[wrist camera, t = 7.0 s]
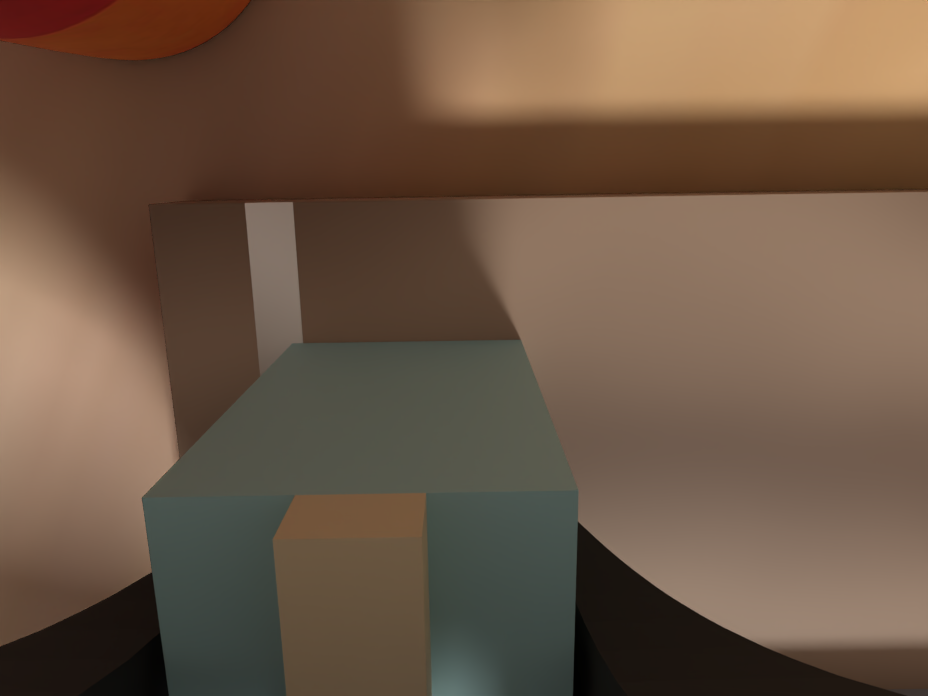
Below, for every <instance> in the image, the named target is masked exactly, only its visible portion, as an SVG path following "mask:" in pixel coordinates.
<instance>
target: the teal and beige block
mask: <svg viewBox="0 0 928 696" xmlns="http://www.w3.org/2000/svg"><path fill="white" fill-rule="evenodd" d="M578 494H579V490H578V488H577V485H576V482H575V480H574V477H573V474H572V472H571V469H570V467H569V464H568V461H567V459H566V456H565V454H564V451H563V448H562V446H561V443H560V440H559V438H558V435H557V433H556V430H555V427H554V425H553V422H552V419H551V417H550V414H549V412H548V409H547V406H546V404H545V401H544V399H543V396H542V393H541V391H540V388H539V385H538V383H537V380H536V378H535V375H534V372H533V370H532V367H531V365H530V362H529V359H528V357H527V354H526V351H525V349H524V346H523V344H522V341H521V340H472V341H408V342H345V343H292V344H291V345H290V346H289V347H288V348H287V349H286V350H285V351H284V352H283V354H282V355H281V356H280V357H279V358H278V359H277V360H276V361H275V362H274V363H273V364H272V365H271V366H270V367H269V368H268V369H267V370H266V371H265V372H264V373H263V374H262V375H261V376H260V377H259V378H258V379H257V380H256V381H255V382H254V383H253V384H252V385H251V386H250V387H249V388H248V389H247V390H246V391H245V392H244V394H243V395H242V396H241V397H240V398H239V399H238V400H237V401H236V402H235V403H234V404H233V405H232V406H231V407H230V408H229V409H228V410H227V411H226V412H225V413H224V414H223V415H222V416H221V417H220V418H219V419H218V420H217V421H216V422H215V423H214V424H213V425H212V426H211V427H210V428H209V429H208V430H207V431H206V432H205V434H204V435H203V436H202V437H201V438H200V439H199V440H198V441H197V442H196V443H195V444H194V445H193V446H192V447H191V448H190V449H189V450H188V451H187V452H186V453H185V454H184V455H183V456H182V457H181V458H180V459H179V460H178V461H177V462H176V463H175V464H174V465H173V466H172V467H171V468H170V469H169V470H168V471H167V472H166V474H165V475H164V476H163V477H162V478H161V479H160V480H159V481H158V482H157V483H156V484H155V485H154V486H153V487H152V488H151V489H150V490H149V491H148V492H147V493H146V494H145V495H144V496H143V497H142V502H143V509H144V517H145V524H146V531H147V539H148V546H149V553H150V561H151V568H152V575H153V583H154V590H155V597H156V604H157V612H158V619H159V626H160V634H161V641H162V648H163V656H164V663H165V670H166V677H167V685H168V692H169V696H573V673H574V637H575V601H576V565H577V530H578Z"/></svg>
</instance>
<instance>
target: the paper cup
mask: <svg viewBox="0 0 928 696" xmlns="http://www.w3.org/2000/svg"><path fill="white" fill-rule="evenodd" d="M250 1H251V0H0V40H1V41H6V42H11V43H17V44H22V45H27V46H33V47H38V48H43V49H48V50H54V51H60V52H66V53H72V54H79V55H85V56H91V57H99V58H108V59H118V60H147V59H155V58H162V57H167V56H171V55H175V54H179V53H182V52H185V51H187V50H190V49H192V48H195V47H197V46H199V45H201V44H203V43H204V42H206V41H208V40H210V39H211V38H213V37H214V36H216V35H217V34H218V33H220V32H221V31H222V30H224V29H225V28H226V27H227V26H228V25H229V24H231V23H232V22H233V21H234V20H235V19H236V18H237V17H238V16H239V14H240V13H241V12H242V11H243V10H244V9H245V7H246V6H247V5H248V4H249V2H250Z"/></svg>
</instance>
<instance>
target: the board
mask: <svg viewBox="0 0 928 696" xmlns="http://www.w3.org/2000/svg"><path fill="white" fill-rule="evenodd" d="M149 211H150V220H151V228H152V236H153V244H154V252H155V261H156V269H157V277H158V285H159V293H160V301H161V310H162V318H163V326H164V334H165V342H166V351H167V359H168V367H169V375H170V383H171V391H172V400H173V408H174V416H175V424H176V432H177V441H178V449H179V457H180V458H181V457H182V456H183V455H184V454H185V453H186V452H187V451H188V450H189V449H190V448H191V447H192V446H193V445H194V444H195V443H196V442H197V441H198V440H199V439H200V438H201V437H202V436H203V435H204V434H205V432H206V431H207V430H208V429H209V428H210V427H211V426H212V425H213V424H214V423H215V422H216V421H217V420H218V419H219V418H220V417H221V416H222V415H223V414H224V413H225V412H226V411H227V410H228V409H229V408H230V407H231V406H232V405H233V404H234V403H235V402H236V401H237V400H238V399H239V398H240V397H241V396H242V395H243V394H244V392H245V391H246V390H247V389H248V388H249V387H250V386H251V385H252V384H253V383H254V382H255V381H256V380H257V379H258V378H259V377H260V376H261V375H262V374H263V373H264V372H265V371H266V370H267V369H268V368H269V367H270V366H271V365H272V364H273V363H274V362H275V361H276V360H277V359H278V358H279V357H280V356H281V355H282V354H283V352H284V351H285V350H286V349H287V348H288V347H289V346H290V345H291V344H292V343H345V342H408V341H472V340H521V341H522V344H523V346H524V349H525V351H526V354H527V357H528V359H529V362H530V365H531V367H532V370H533V372H534V375H535V378H536V380H537V383H538V385H539V388H540V391H541V393H542V396H543V399H544V401H545V404H546V406H547V409H548V412H549V414H550V417H551V419H552V422H553V425H554V427H555V430H556V433H557V435H558V438H559V440H560V443H561V446H562V448H563V451H564V454H565V456H566V459H567V461H568V464H569V467H570V469H571V472H572V474H573V477H574V480H575V482H576V485H577V488H578V490H579V494H578V522H579V523H580V524H581V525H582V526H583V527H584V528H586V529H587V530H588V531H589V532H590V533H591V534H592V535H593V536H594V537H595V538H596V539H597V540H599V541H600V542H601V543H602V544H603V545H604V546H605V547H606V548H608V549H609V550H610V551H611V552H612V553H613V554H614V555H616V556H617V557H618V558H619V559H620V560H622V561H623V562H624V563H625V564H627V565H628V566H629V567H630V568H632V569H633V570H634V571H636V572H637V573H638V574H640V575H641V576H642V577H644V578H645V579H646V580H648V581H649V582H650V583H652V584H653V585H654V586H656V587H657V588H659V589H660V590H662V591H663V592H665V593H666V594H668V595H669V596H671V597H672V598H674V599H675V600H677V601H679V602H680V603H682V604H684V605H685V606H687V607H689V608H690V609H692V610H694V611H695V612H697V613H699V614H700V615H702V616H704V617H705V618H707V619H709V620H711V621H713V622H715V623H716V624H718V625H720V626H722V627H724V628H726V629H728V630H730V631H732V632H734V633H736V634H738V635H741V636H743V637H745V638H747V639H749V640H751V641H753V642H755V643H757V644H759V645H761V646H764V647H766V648H768V649H771V650H773V651H776V652H778V653H780V654H783V655H785V656H787V657H790V658H792V659H795V660H798V661H800V662H803V663H806V664H809V665H811V666H814V667H817V668H819V669H822V670H825V671H827V672H830V673H833V674H836V675H839V676H842V677H845V678H848V679H851V680H855V681H858V682H862V683H865V684H869V685H872V686H876V687H879V688H882V689H886V690H889V691H893V692H896V693H900V694H903V695H906V696H928V189H902V190H840V191H778V192H717V193H655V194H593V195H532V196H470V197H409V198H347V199H285V200H224V201H180V202H169V203H159V204H149Z"/></svg>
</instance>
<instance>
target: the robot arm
mask: <svg viewBox="0 0 928 696" xmlns="http://www.w3.org/2000/svg"><path fill="white" fill-rule="evenodd" d="M0 696H169V692H168V685H167V677H166V670H165V663H164V656H163V648H162V641H161V634H160V626H159V619H158V612H157V604H156V597H155V590H154V583H153V575H152V573H150V574H148V575H146V576H145V577H143V578H141V579H140V580H138V581H136V582H135V583H133V584H131V585H130V586H128V587H126V588H124V589H123V590H121V591H119V592H118V593H116V594H114V595H112V596H110V597H109V598H107V599H105V600H103V601H101V602H99V603H97V604H95V605H93V606H91V607H89V608H87V609H85V610H83V611H81V612H79V613H77V614H75V615H73V616H71V617H69V618H67V619H65V620H63V621H60V622H58V623H56V624H54V625H52V626H50V627H48V628H45V629H43V630H41V631H38V632H36V633H34V634H31V635H29V636H26V637H24V638H21V639H19V640H16V641H14V642H11V643H9V644H6V645H4V646H1V647H0ZM573 696H906V695H903V694H900V693H896V692H893V691H889V690H886V689H882V688H879V687H876V686H872V685H869V684H865V683H862V682H858V681H855V680H851V679H848V678H845V677H842V676H839V675H836V674H833V673H830V672H827V671H825V670H822V669H819V668H817V667H814V666H811V665H809V664H806V663H803V662H800V661H798V660H795V659H792V658H790V657H787V656H785V655H783V654H780V653H778V652H776V651H773V650H771V649H768V648H766V647H764V646H761V645H759V644H757V643H755V642H753V641H751V640H749V639H747V638H745V637H743V636H741V635H738V634H736V633H734V632H732V631H730V630H728V629H726V628H724V627H722V626H720V625H718V624H716V623H715V622H713V621H711V620H709V619H707V618H705V617H704V616H702V615H700V614H699V613H697V612H695V611H694V610H692V609H690V608H689V607H687V606H685V605H684V604H682V603H680V602H679V601H677V600H675V599H674V598H672V597H671V596H669V595H668V594H666V593H665V592H663V591H662V590H660V589H659V588H657V587H656V586H654V585H653V584H652V583H650V582H649V581H648V580H646V579H645V578H644V577H642V576H641V575H640V574H638V573H637V572H636V571H634V570H633V569H632V568H630V567H629V566H628V565H627V564H625V563H624V562H623V561H622V560H620V559H619V558H618V557H617V556H616V555H614V554H613V553H612V552H611V551H610V550H609V549H608V548H606V547H605V546H604V545H603V544H602V543H601V542H600V541H599V540H597V539H596V538H595V537H594V536H593V535H592V534H591V533H590V532H589V531H588V530H587V529H586V528H584V527H583V526H582V525H581V524H580V523H579V522H578V530H577V565H576V601H575V637H574V673H573Z"/></svg>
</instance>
